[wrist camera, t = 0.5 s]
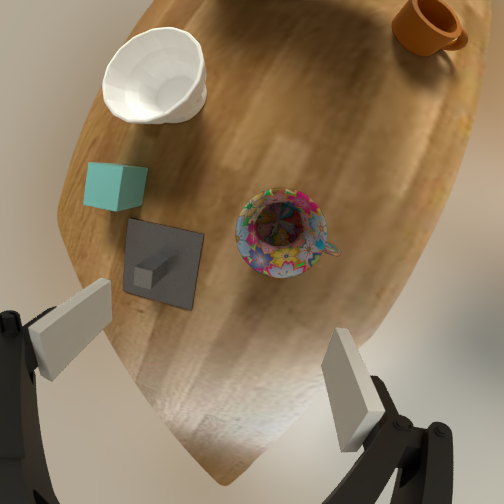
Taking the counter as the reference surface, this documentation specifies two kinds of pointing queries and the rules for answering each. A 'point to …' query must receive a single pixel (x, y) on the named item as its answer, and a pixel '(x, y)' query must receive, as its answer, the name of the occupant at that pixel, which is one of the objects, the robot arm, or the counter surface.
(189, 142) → the counter surface
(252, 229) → the mug
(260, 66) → the counter surface
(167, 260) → the grey square tile
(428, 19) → the mug
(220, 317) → the counter surface
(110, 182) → the teal block
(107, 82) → the cup
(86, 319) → the robot arm
